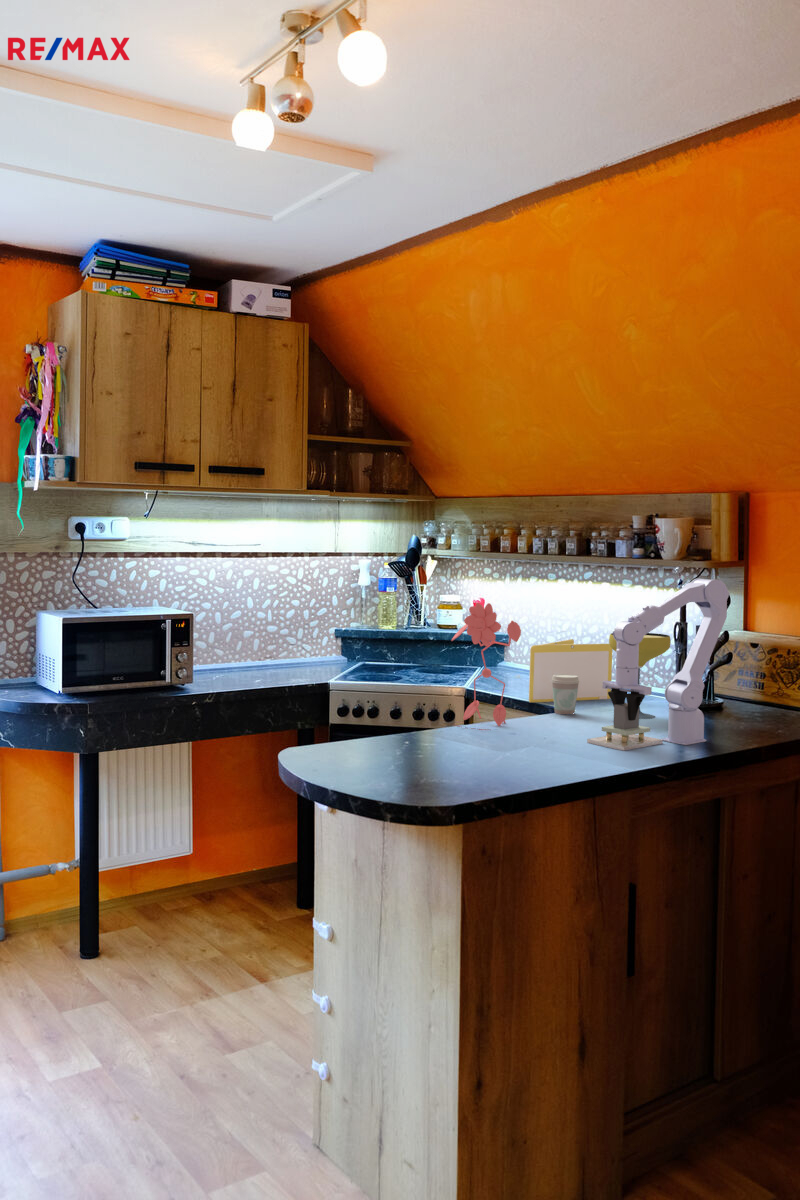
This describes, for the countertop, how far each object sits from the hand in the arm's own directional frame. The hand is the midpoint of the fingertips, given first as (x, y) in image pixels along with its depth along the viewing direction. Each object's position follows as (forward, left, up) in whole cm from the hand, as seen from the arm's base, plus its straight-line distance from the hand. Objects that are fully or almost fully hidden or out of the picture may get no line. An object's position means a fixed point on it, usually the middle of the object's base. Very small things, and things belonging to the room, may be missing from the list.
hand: (625, 719), depth 262 cm
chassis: (0, 0, -6) cm, 6 cm away
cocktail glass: (-36, -24, -7) cm, 44 cm away
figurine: (+14, -41, -7) cm, 44 cm away
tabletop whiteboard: (-44, -57, -7) cm, 72 cm away
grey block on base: (0, 0, -3) cm, 3 cm away
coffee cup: (-20, -39, -7) cm, 44 cm away
